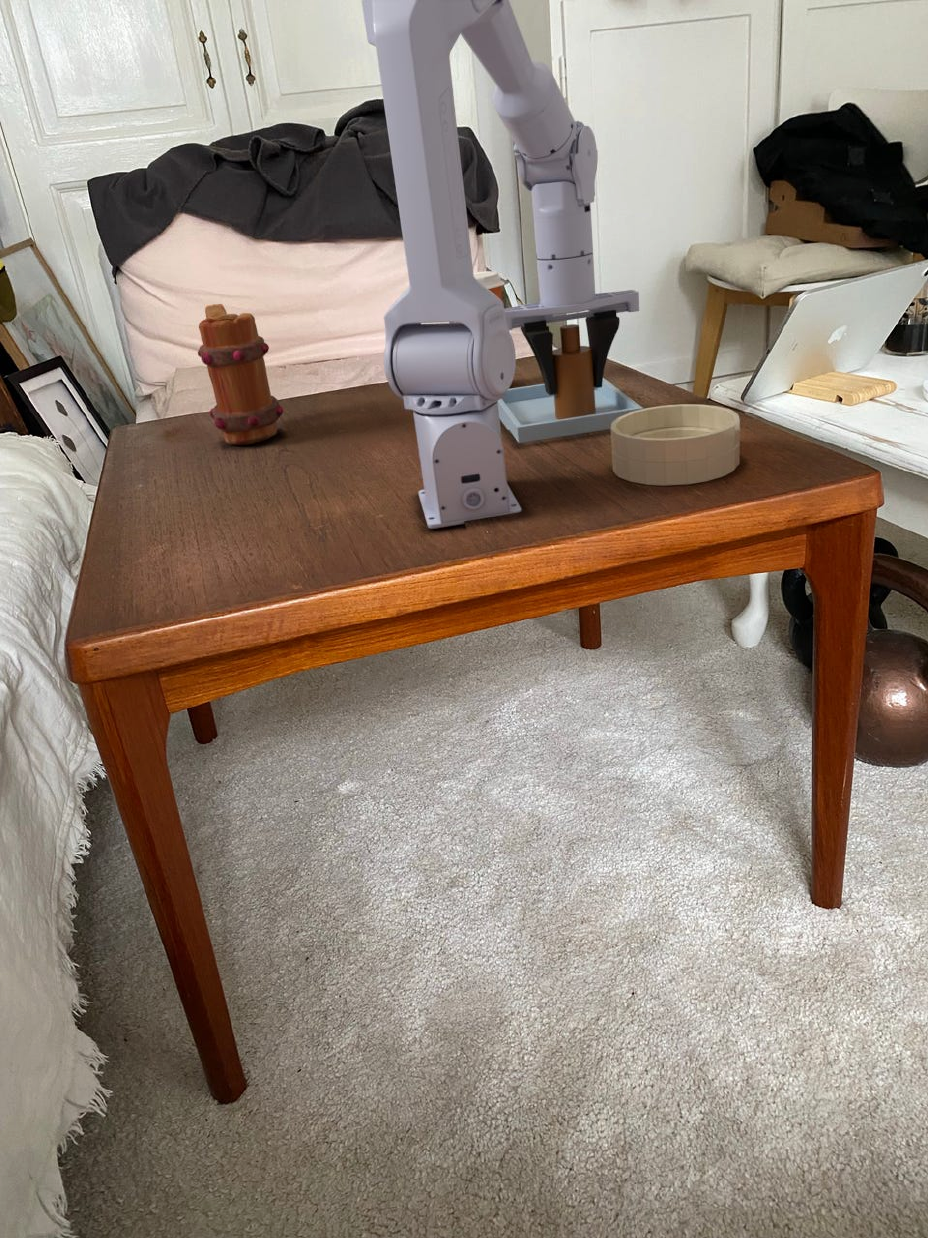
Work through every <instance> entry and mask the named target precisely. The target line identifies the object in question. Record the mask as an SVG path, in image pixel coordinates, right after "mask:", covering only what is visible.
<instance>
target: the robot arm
mask: <svg viewBox="0 0 928 1238" xmlns="http://www.w3.org/2000/svg"><path fill="white" fill-rule="evenodd" d="M361 7H362V12H363V19H364V26H365V32H366V39H367V42H368V44H370V45H371V46H374V47H375V49H376V56H377V58H376V59H377V65H378V70H379V72H378V73H379V78H380V85H381V92H382V99H383V106H384V114H385V120H386V128H387V134H388V135H387V136H388V140H389V149H390V156H391V164H392V170H393V176H394V184H395V192H396V198H397V204H398V205H397V206H398V211H399V219H400V220H399V221H400V227H401V234H402V240H403V247H404V255H405V263H406V268H407V276H408V282H409V286H408V288H406V289H405V291H403V293H401V295H400V296H399V297H398V298H397V299H396V300H395V301H394V303H393V304H391V305H390V307H389V309H387V311H386V312H385V314H384V315H383V322H384V329H385V330H384V331H385V343H384V350H383V368H384V374H385V378H386V380H387V383H388V385H389V387H390V389H391V390H392V392H393V393H394V394H395V396H397V397H398V398H399V399H402V400H403V406H404V409H405V410H406V411H407V410H408V411H412V415H413V421H414V427H415V435H416V441H417V450H418V456H419V462H420V470H421V476H422V483H423V489H421V490H418V492H417V493H418V498H419V501H420V505H421V508H422V511H423V515H424V519H425V522H426V525H427V528H428V529H430V530H433V529H434V530H435V529H440V528H448V527H453V526H460V525H465V524H466V523H465V522H467V521H473V520H480V519H487V518H492V517H499V516H505V515H510V514H518V513H521V512H522V507H521V505H520V503H519V501H518V500H517V498H516V496H515V495H514V494H513V491H512V489H511V487H510V486H509V484H508V480H507V471H506V470H507V469H506V461H505V451H504V445H503V439H502V430H501V420H500V418H499V410H498V400H500V399H501V398H503V397H504V396H505V394H506V392H507V390H508V389H510V387H511V386H512V384H513V381H514V378H515V373H516V368H517V367H516V366H517V365H516V364H517V356H516V355H517V354H516V346H515V342H514V339H513V336H512V334H511V333H510V331H512V330H513V329H519V328H520V331H521V333H522V335H523V336H524V338H525V340H526V342H527V344H528V345H529V348H530V349H531V351H532V353H533V356H534V357H535V360H536V362H537V365H538V368H539V370H540V374H541V377H542V381H543V384H545V389H546V392H547V393H548V394H549V395H554V394H556V383H555V375H554V368H553V350H554V349H553V348H554V347H553V345H554V344H553V340H554V334H553V333H552V332H551V331H550V325H547V324H552V323H559V322H565V321H572V320H573V321H574V320H579V319H585V326H586V331H587V333H586V334H587V340H588V347H591V348H592V356H593V373H594V387H595V388H599V387H602V382H603V378H604V373H605V368H606V362H607V361H608V356H609V353H610V349H611V347H612V344H613V342H614V340H615V337H616V334H617V332H618V330H619V327H620V323H621V321H620V317H619V316H617V314H619V313H620V314H621V313H626V312H628V313H636V312H640V297H639V296H640V293H639V291H637V290H634V289H629V290H621V291H610V292H600V293H599V292H598V293H596V281H595V263H594V262H595V261H594V244H593V226H592V207H591V204H592V203H594V202H595V196H596V185H595V184H596V176H597V170H598V161H599V160H598V159H599V155H598V154H599V153H598V151H599V150H598V148H597V141H596V138H595V134H594V132H593V129H592V128H591V127H590V126H589V125H585V124H584V123H583V122H582V121H580V120H575V117H574V116H573V113H572V111H571V110H570V107H569V106H568V103H567V102H566V100H565V97H564V95H563V93H562V91H561V88H560V86H559V85H558V83H557V80H556V79H555V77H554V74H553V73H552V70H551V68H550V67H549V65H547V64H546V63H545V62H543V61H541V60H537V59H532V57H531V55H530V52H529V50H528V47H527V44H526V41H525V39H524V37H523V34H522V30H521V28H520V26H519V23H518V21H517V18H516V15H515V12H514V10H513V8H512V7H513V6H512V5H511V2H510V0H361ZM460 36H461V37H462V38H463V40H464V41H465V43H466V45H467V46H468V47H469V48H470V50H471V51H472V53H473V54H474V55H475V57H476V59H477V60H478V61H479V63H480V64H481V65H482V67H483V68H484V70H485V71H486V73H487V74H488V75H489V77H490V78H491V79H492V81H493V83H494V85H495V86H494V90H493V92H492V104H493V108H494V110H495V111H496V113H497V115H498V117H499V119H500V121H501V122H502V124H503V125H504V127H505V129H506V131H507V132H508V134H509V136H510V137H511V139H512V141H513V143H514V146H513V153H514V154H513V155H514V157H515V159H516V162H517V170H518V174H519V179H520V181H521V184H522V185H523V186H524V187H525V189H526V190H528V191H530V192H531V203H532V204H531V205H532V215H533V216H532V217H533V229H534V230H533V231H534V243H535V252H536V253H535V254H536V265H537V279H538V290H539V301H536V302H530V303H526V304H521V305H515V306H510V307H506V308H505V305H504V301H503V299H502V300H501V299H499V298H498V297H497V296H496V295H495V294H493V293H492V292H491V291H490V290H488V289H487V288H486V287H485V286H483V285H482V284H481V283H480V282H478V281H477V280H476V279H475V278H474V274H473V273H474V266H473V259H472V258H473V257H472V256H473V255H472V248H471V240H470V230H469V223H468V213H467V205H466V203H467V202H466V196H465V195H466V194H465V186H464V179H463V177H464V176H463V169H462V160H461V150H460V143H459V133H458V124H457V123H458V122H457V116H456V107H455V97H454V90H453V79H452V71H451V70H452V69H451V62H450V55H451V52H452V50H453V48H454V46H455V45H456V43H457V41H458V40H459V37H460ZM449 322H458V323H449Z"/></svg>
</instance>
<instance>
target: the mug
mask: <svg viewBox="0 0 928 1238" xmlns="http://www.w3.org/2000/svg"><path fill="white" fill-rule="evenodd" d="M204 313H205V319H203V320H201V322H199V324H198V330H199V332H200V337H201V343H202V344H201V345H200V346H199V349H198V351H197V355H198V357H200V358H201V362H202V364H204V365H206V369H207V373H208V376H209V380H210V382H211V386H212V390H213V395H214V400H215V403H216V405H215V406H214V407H213V408H210V410H209V417H211V418H212V419H213V420H214V426H215V427H216V428H217V429H218V430H220V431H222V434H223V435H222V436H223V438H224V441H225V443H227V444H229V445H234V446H243V445H246V446H247V445H251V444H252V445H253V444H256V443H261V442H265V441H266V440H269V439H270V438H272V437H274V436H275V435H276V434H277V432H278V425H277V422H278V420H279V419H280V418H281V416H282V415H283V413H284V408H283V406H281V405H280V403H279V400H278V398H276V397H275V396H274V395H272V394H271V389H270V384H269V380H268V379H269V378H268V374H267V368H266V362H265V358H264V356H265V355H266V354H267V353H268V352H269V350H270V346H269V344H268V343H266V342H265V339H264V338H263V337H262V336H260V335H259V331H258V328H257V324H256V319H255V316H254V315H253V314H252V313H249V312H242V313H239V314H237V313H227V310H226V308H225V306H224V305H223V303H217V304H210V305H206V306H205V307H204Z"/></svg>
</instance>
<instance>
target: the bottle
mask: <svg viewBox="0 0 928 1238" xmlns="http://www.w3.org/2000/svg"><path fill="white" fill-rule="evenodd" d="M580 333H581V331H580V324H578V323H577V324H575V323H574V324H573V323H572V324H564V325H561V326H559V335H560V348H556V349H553V368H554V375H555V383H556V394H554V405H555V417H556V419H558V420H559V419H566V418H572V417H579V416H585V415H592V414H596V407H595V390H594V373H593V356H592V348H591V347H589V345H587V346H586V345H581V334H580Z"/></svg>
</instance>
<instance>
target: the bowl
mask: <svg viewBox="0 0 928 1238" xmlns="http://www.w3.org/2000/svg"><path fill="white" fill-rule="evenodd" d="M740 435H741V419H740V415H739V414H738V413H737V412H735V411H733V410H732V409H730V408H725V407H722V406H718V405H711V404H709V405H708V404H699V403H698V404H697V403H696V404H695V403H694V404H690V403H684V404H683V403H681V404H668V405H659V406H653V407H647V408H643V409H642V410H638V411H634V412H630V413H628V414H625V415H623V416H621V417H618V418H617V419H616V420H615V421H613V422H612V423H611V429H610V445H611V446H610V447H611V462H612V463H611V465H612V466H611V467H612V472H613V473H614V475H615V476H617V477H618V478H620V479H622V480H625V481H627V482H630V483H635V484H641V485H646V486H663V487H664V486H665V487H666V486H667V487H668V486H683V485H684V486H685V485H693V484H699V483H705V482H709V481H712V480H713V481H714V480H716V479H719V478H723V477H725V476H727V475H728V474H730V473H732V472H734V471H735V470H736V469H737V467H738V466H739V465H740V453H741V452H740V447H741V446H740V445H741V444H740V443H741V442H740V441H741V436H740Z"/></svg>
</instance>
